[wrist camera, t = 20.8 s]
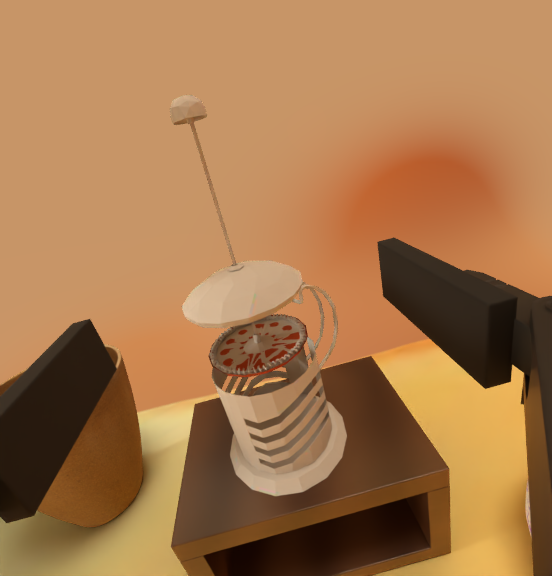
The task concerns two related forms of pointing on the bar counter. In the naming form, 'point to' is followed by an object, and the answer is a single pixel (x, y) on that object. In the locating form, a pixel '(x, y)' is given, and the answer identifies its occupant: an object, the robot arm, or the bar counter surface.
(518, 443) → the bar counter surface
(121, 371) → the plant pot
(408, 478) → the shelf
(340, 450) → the french press
